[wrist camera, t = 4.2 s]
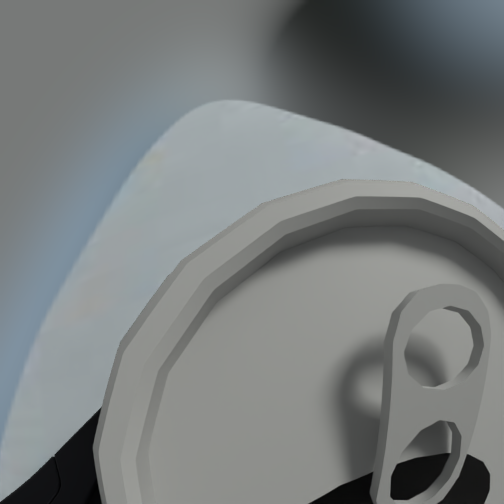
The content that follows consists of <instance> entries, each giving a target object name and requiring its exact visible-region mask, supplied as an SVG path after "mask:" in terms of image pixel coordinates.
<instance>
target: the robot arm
mask: <svg viewBox="0 0 504 504" xmlns="http://www.w3.org/2000/svg"><path fill="white" fill-rule="evenodd" d="M101 408H102V407H101ZM101 408H100V409H99V410H98V411H97V412H96V413H95V414H94V415H93V416H92V417H91V418H90V419H89V420H88V421H87V422H86V423H85V424H84V425H83V426H82V427H81V428H80V429H79V430H78V431H77V432H76V433H75V434H74V435H73V436H72V437H71V438H70V439H69V440H68V441H67V442H66V443H65V444H64V445H63V446H62V447H61V449H60V450H59V451H58V452H57V453H56V454H55V457H51V458H50V459H49V460H48V461H47V462H46V463H45V464H44V465H43V466H42V467H41V468H40V469H39V470H38V471H37V472H36V473H35V474H34V475H33V476H32V477H31V478H30V479H28V480H27V481H26V482H25V483H24V484H22V485H21V486H20V487H19V488H18V489H16V490H15V491H14V492H13V493H11V494H10V495H9V496H7V497H6V498H5V499H3V500H2V501H1V502H0V504H102V501H101V496H100V491H99V486H98V480H97V474H96V468H95V461H94V453H93V444H94V439H95V434H96V430H97V425H98V421H99V417H100V412H101Z"/></svg>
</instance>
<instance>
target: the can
mask: <svg viewBox="0 0 504 504" xmlns="http://www.w3.org/2000/svg"><path fill="white" fill-rule="evenodd" d="M93 453H94V461H95V468H96V474H97V480H98V486H99V491H100V496H101V501H102V504H504V230H503V229H502V228H501V227H500V226H498V225H497V224H496V223H495V222H494V221H492V220H491V219H490V218H489V217H487V216H486V215H485V214H483V213H482V212H481V211H480V210H478V209H477V208H476V207H474V206H473V205H470V204H468V203H466V202H463V201H461V200H458V199H456V198H453V197H451V196H448V195H446V194H443V193H441V192H438V191H435V190H433V189H430V188H427V187H424V186H422V185H419V184H416V183H413V182H403V181H383V180H351V179H341V180H338V181H334V182H331V183H327V184H324V185H320V186H317V187H314V188H310V189H307V190H304V191H300V192H297V193H294V194H290V195H287V196H284V197H281V198H277V199H274V200H271V201H268V202H265V203H262V204H260V205H259V206H257V207H256V208H255V209H253V210H252V211H250V212H249V213H247V214H246V215H244V216H243V217H242V218H240V219H239V220H237V221H236V222H234V223H233V224H232V225H230V226H229V227H227V228H226V229H225V230H223V231H222V232H220V233H219V234H217V235H216V236H215V237H213V238H212V239H210V240H209V241H208V242H206V243H205V244H203V245H202V246H201V247H199V248H198V249H197V250H195V251H194V252H192V253H191V254H190V255H188V256H187V257H185V258H184V259H183V260H181V261H180V263H179V264H178V265H177V267H176V268H175V269H174V271H173V272H172V273H171V274H169V275H168V276H167V278H166V279H165V280H164V282H163V283H162V284H161V286H160V287H159V288H158V290H157V291H156V293H155V294H154V295H153V297H152V298H151V299H150V301H149V302H148V304H147V305H146V306H145V308H144V309H143V311H142V312H141V313H140V315H139V316H138V318H137V319H136V320H135V322H134V323H133V325H132V326H131V328H130V329H129V330H128V332H127V333H126V335H125V336H124V338H123V339H122V340H121V342H120V345H119V348H118V350H117V353H116V357H115V360H114V363H113V367H112V370H111V374H110V377H109V381H108V385H107V389H106V392H105V396H104V400H103V404H102V408H101V412H100V417H99V421H98V425H97V430H96V434H95V439H94V444H93Z"/></svg>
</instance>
